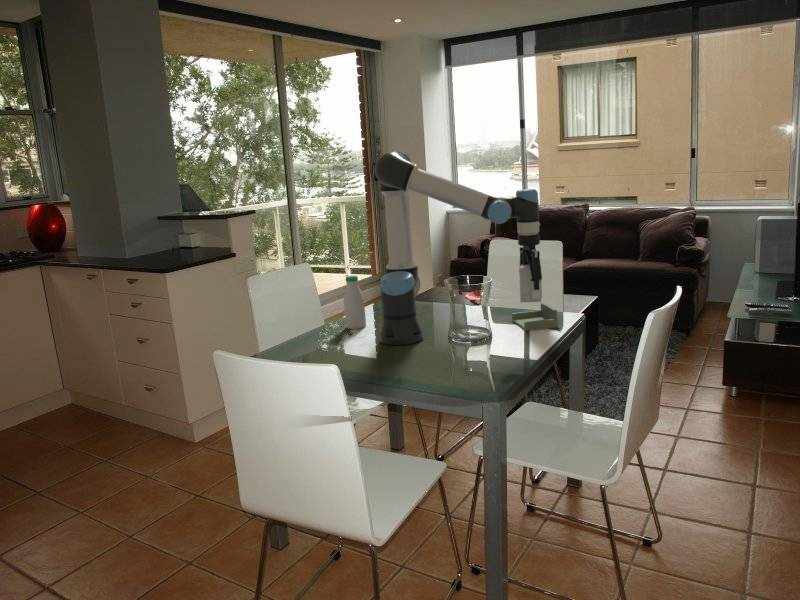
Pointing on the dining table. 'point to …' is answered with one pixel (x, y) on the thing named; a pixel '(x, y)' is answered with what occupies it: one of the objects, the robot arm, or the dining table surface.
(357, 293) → the milk bottle
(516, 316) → the chute mount
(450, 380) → the dining table surface
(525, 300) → the supplement box
